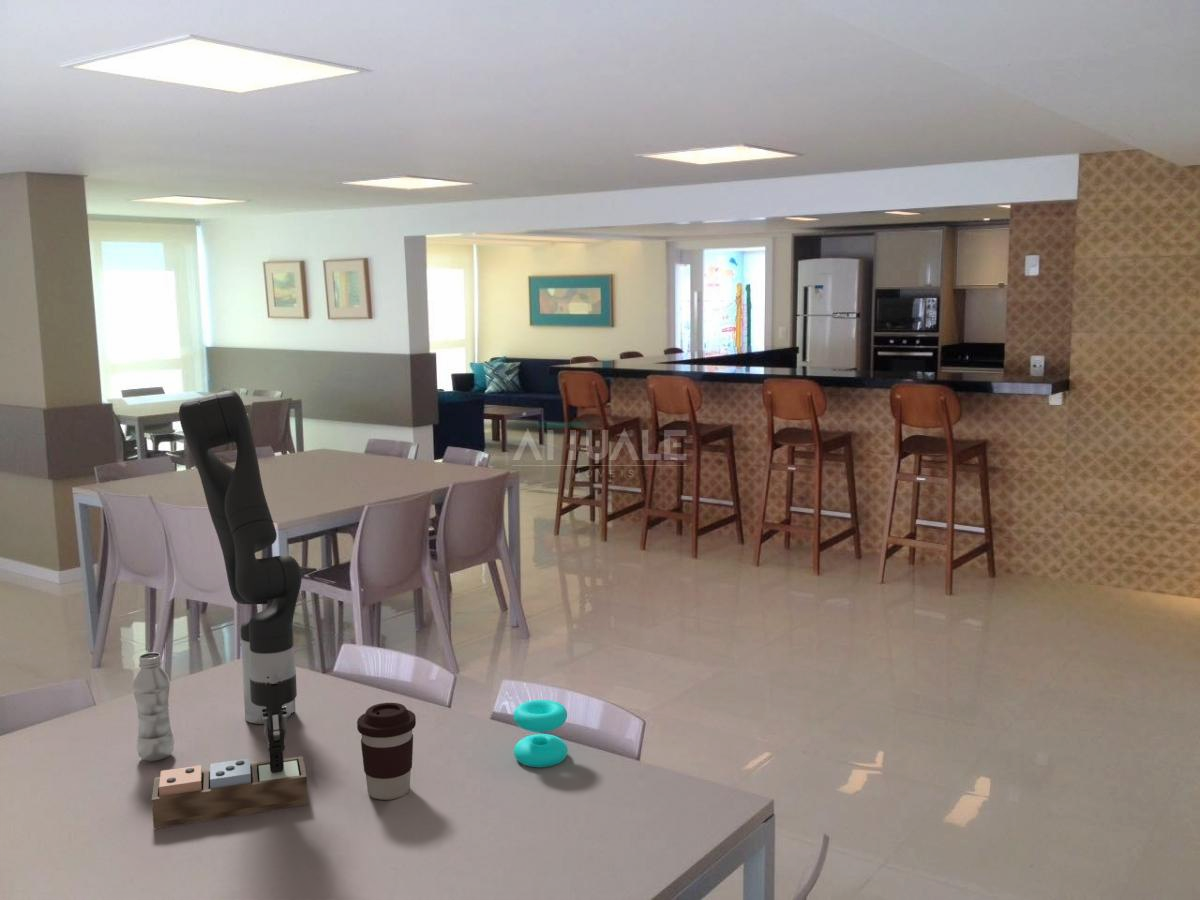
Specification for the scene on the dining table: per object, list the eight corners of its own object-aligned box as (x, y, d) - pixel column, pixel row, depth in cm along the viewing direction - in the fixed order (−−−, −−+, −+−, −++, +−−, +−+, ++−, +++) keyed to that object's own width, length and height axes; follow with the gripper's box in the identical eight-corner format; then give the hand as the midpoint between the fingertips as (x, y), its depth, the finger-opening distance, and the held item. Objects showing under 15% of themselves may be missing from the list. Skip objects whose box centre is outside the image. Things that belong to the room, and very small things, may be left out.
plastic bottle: (181, 751, 199) (175, 650, 196) (163, 766, 192) (156, 662, 190) (149, 749, 200) (143, 649, 197) (130, 765, 193) (123, 661, 190)
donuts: (575, 701, 197) (553, 720, 187) (576, 752, 198) (554, 773, 189) (527, 694, 200) (504, 713, 191) (528, 744, 202) (504, 764, 192)
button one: (297, 776, 184) (296, 759, 183) (300, 792, 178) (299, 774, 177) (259, 782, 182) (258, 764, 181) (260, 798, 176) (259, 780, 175)
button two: (202, 781, 178) (201, 763, 178) (201, 798, 172) (200, 779, 172) (161, 787, 176) (160, 769, 176) (159, 804, 170) (158, 785, 170)
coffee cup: (428, 785, 184) (426, 703, 182) (395, 809, 175) (392, 724, 173) (382, 774, 189) (380, 695, 186) (347, 798, 180) (344, 714, 178)
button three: (250, 774, 181) (249, 757, 180) (251, 790, 175) (250, 772, 174) (211, 780, 179) (210, 762, 178) (210, 796, 173) (209, 778, 172)
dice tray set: (303, 783, 185) (302, 756, 185) (307, 804, 177) (306, 776, 177) (156, 805, 177) (154, 777, 177) (153, 828, 169) (151, 799, 169)
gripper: (248, 663, 182) (253, 758, 184) (250, 688, 169) (255, 790, 172) (293, 658, 184) (297, 752, 186) (298, 683, 172) (302, 783, 174)
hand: (277, 770), depth 179 cm, fingers closed
